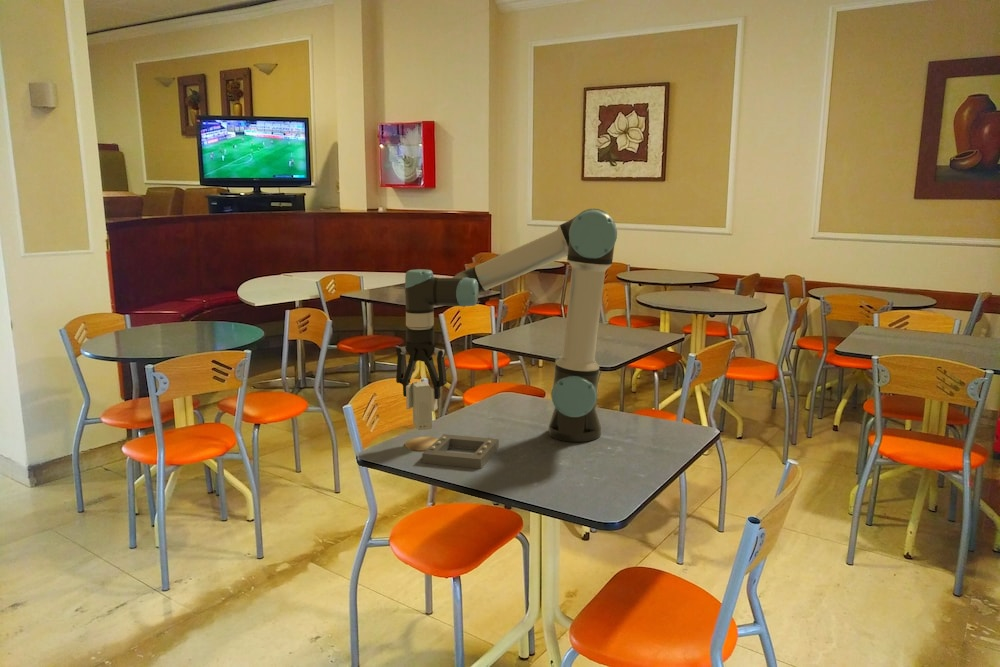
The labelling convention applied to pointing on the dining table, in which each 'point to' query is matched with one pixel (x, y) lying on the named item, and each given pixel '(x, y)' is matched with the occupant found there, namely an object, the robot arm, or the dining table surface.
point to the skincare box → (422, 405)
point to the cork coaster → (420, 443)
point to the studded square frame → (476, 460)
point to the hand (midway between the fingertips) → (422, 408)
